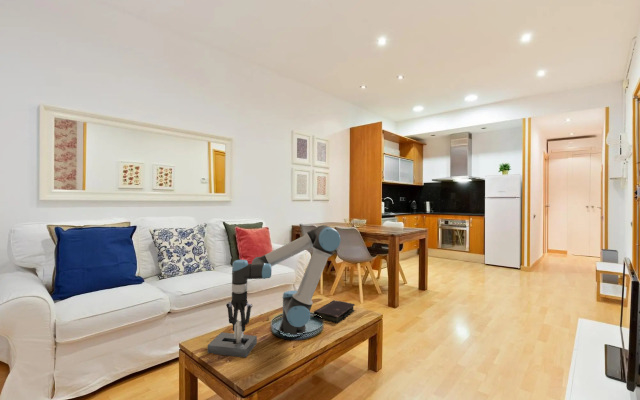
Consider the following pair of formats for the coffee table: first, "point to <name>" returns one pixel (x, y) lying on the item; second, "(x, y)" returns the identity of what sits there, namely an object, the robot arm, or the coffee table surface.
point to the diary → (335, 311)
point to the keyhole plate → (232, 345)
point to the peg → (238, 333)
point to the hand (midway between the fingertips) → (238, 337)
